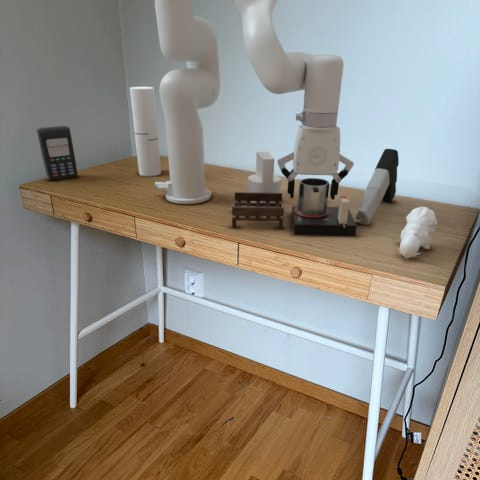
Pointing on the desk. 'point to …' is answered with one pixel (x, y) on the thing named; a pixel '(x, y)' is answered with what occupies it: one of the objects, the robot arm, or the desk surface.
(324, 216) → the hot plate
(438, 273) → the desk surface
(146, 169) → the cylindrical container
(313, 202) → the steel pot
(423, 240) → the white animal figurine
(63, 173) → the card reader
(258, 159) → the base with upright slab
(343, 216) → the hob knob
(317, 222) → the hob
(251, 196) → the drying rack
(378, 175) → the handheld device
